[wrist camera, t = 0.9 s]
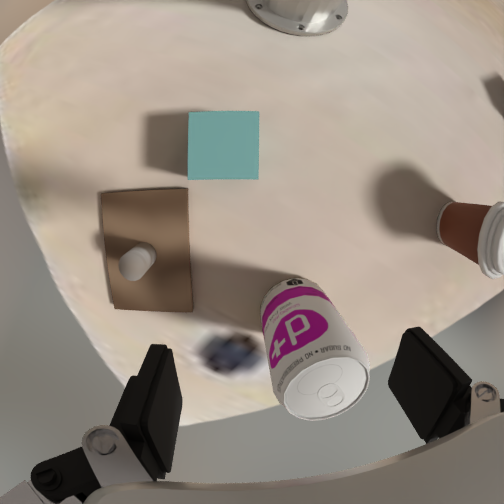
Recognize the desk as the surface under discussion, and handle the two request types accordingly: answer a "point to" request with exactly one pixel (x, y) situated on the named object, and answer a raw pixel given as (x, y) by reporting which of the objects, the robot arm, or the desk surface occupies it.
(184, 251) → the post board
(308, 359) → the supplement can
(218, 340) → the desk surface
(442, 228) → the coffee cup
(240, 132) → the teal cube
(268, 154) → the desk surface
